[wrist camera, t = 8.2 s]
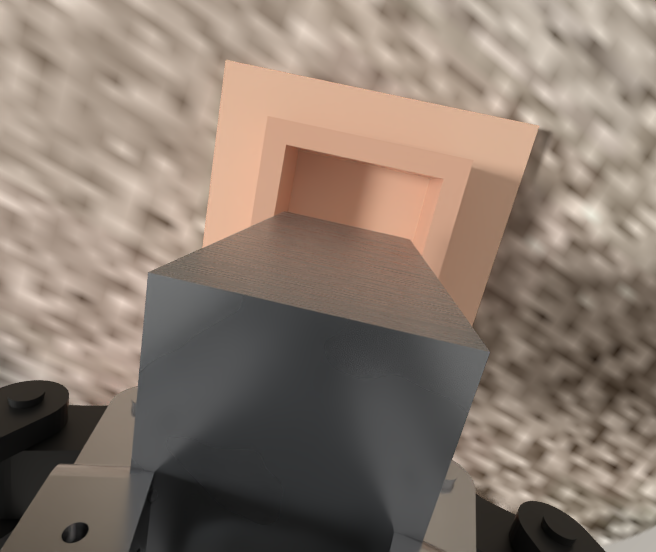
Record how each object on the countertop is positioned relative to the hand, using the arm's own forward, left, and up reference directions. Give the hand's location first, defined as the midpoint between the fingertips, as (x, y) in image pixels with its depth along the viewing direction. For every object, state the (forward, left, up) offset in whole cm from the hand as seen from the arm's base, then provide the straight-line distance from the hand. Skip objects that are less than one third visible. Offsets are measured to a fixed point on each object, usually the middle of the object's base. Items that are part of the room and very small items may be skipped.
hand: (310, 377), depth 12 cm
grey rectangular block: (0, 0, -2) cm, 2 cm away
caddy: (0, 0, -12) cm, 12 cm away
